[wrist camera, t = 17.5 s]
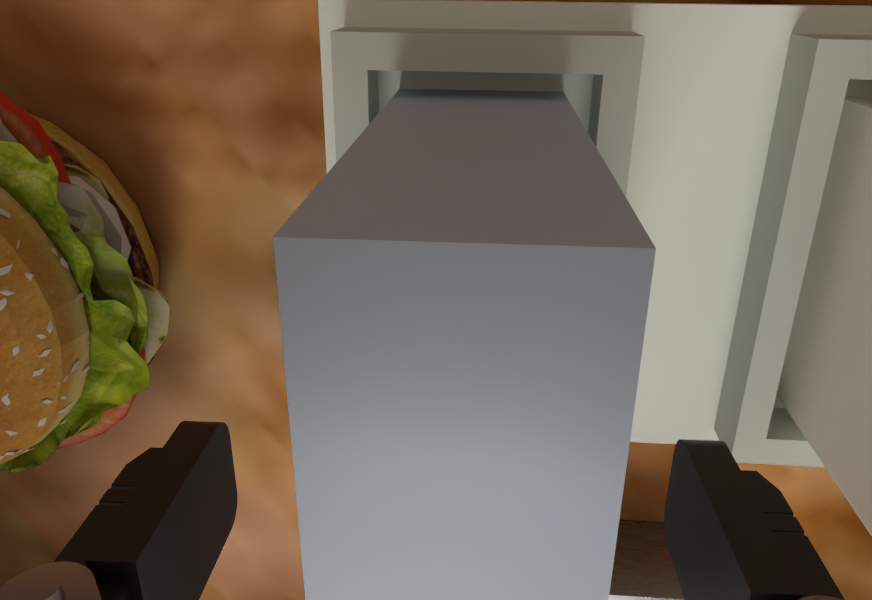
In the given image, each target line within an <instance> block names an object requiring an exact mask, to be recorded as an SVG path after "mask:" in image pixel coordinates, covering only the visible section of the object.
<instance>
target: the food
mask: <svg viewBox="0 0 872 600" xmlns="http://www.w3.org/2000/svg"><path fill="white" fill-rule="evenodd" d="M158 281H159V277H158V259H157V256H156V253H155V251H154V248H153V246H152V243H151V240H150V238H149V235H148V232H147V230H146V227H145V224H144V222H143V219H142V217H141V214H140V211H139V209H138V207H137V206H136V204H135V203H134V201H133V200H132V199H131V197H130V196H129V194H128V193H127V192H126V190H125V189H124V188H123V186H122V185H121V183H120V182H119V181H118V179H117V178H116V176H115V175H114V174H113V172H112V171H111V170H110V168H109V167H108V165H107V164H106V163H105V162H104V161H103V160H102V159H100V158H99V157H98V156H96V155H95V154H94V153H92V152H91V151H90V150H88V149H87V148H86V147H84V146H83V145H82V144H80V143H79V142H78V141H76V140H75V139H74V138H72V137H71V136H70V135H68V134H67V133H66V132H64V131H63V130H62V129H60V128H59V127H58V126H56V125H55V124H54V123H52V122H49V121H47V120H44V119H42V118H39V117H37V116H34V115H32V114H30V113H28V112H26V111H25V110H24V109H23V108H21V107H20V106H19V105H18V104H16V103H15V102H14V101H12V100H11V99H10V98H9V97H7V96H6V95H5V94H3V93H1V92H0V470H9V471H11V472H13V473H17V472H21V471H25V470H28V469H30V468H33V467H35V466H38V465H40V464H41V463H43V462H44V461H47V460H48V459H49V457H50V456H51V455H52V454H53V453H54V451H55V450H56V449H57V448H61V447H65V446H69V445H74V444H78V443H80V442H83V441H85V440H87V439H90V438H92V437H95V436H97V435H99V434H102V433H104V432H106V431H107V430H108V429H109V428H111V427H112V426H113V425H115V424H116V423H117V422H119V421H120V420H121V419H123V418H124V417H125V416H126V415H127V413H128V411H129V409H130V407H131V405H132V403H133V401H134V399H135V397H136V394H137V393H138V392H139V391H142V390H145V389H148V385H149V381H150V372H149V369H148V365H149V364H150V363H151V361H152V360H153V358H154V354H155V353H156V352H157V350H158V349H159V347H160V346H161V344H162V343H163V341H164V340H165V338H166V337H167V335H168V329H169V322H170V315H171V308H170V306H169V304H168V302H167V299H166V297H165V295H164V293H163V292H161V291H159V290H158Z"/></svg>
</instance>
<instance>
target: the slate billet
mask: <svg viewBox="0 0 872 600" xmlns="http://www.w3.org/2000/svg"><path fill="white" fill-rule="evenodd" d="M273 244H274V255H275V266H276V277H277V288H278V299H279V310H280V321H281V333H282V344H283V355H284V366H285V377H286V388H287V399H288V410H289V421H290V433H291V444H292V455H293V466H294V477H295V488H296V499H297V510H298V521H299V533H300V544H301V555H302V566H303V577H304V588H305V599H306V600H609V593H610V586H611V578H612V571H613V563H614V556H615V549H616V541H617V534H618V526H619V519H620V512H621V504H622V497H623V489H624V482H625V475H626V467H627V460H628V452H629V445H630V437H631V430H632V423H633V415H634V408H635V400H636V393H637V386H638V378H639V371H640V363H641V356H642V349H643V341H644V334H645V326H646V319H647V312H648V304H649V297H650V289H651V282H652V275H653V267H654V260H655V252H656V248H655V246H654V244H653V242H652V241H651V239H650V237H649V236H648V234H647V232H646V231H645V229H644V227H643V226H642V224H641V222H640V220H639V219H638V217H637V215H636V214H635V212H634V210H633V209H632V207H631V205H630V204H629V202H628V200H627V198H626V197H625V195H624V193H623V192H622V190H621V188H620V187H619V185H618V183H617V182H616V180H615V178H614V176H613V175H612V173H611V171H610V170H609V168H608V166H607V165H606V163H605V161H604V160H603V158H602V156H601V154H600V153H599V151H598V149H597V148H596V146H595V144H594V143H593V141H592V139H591V138H590V136H589V134H588V132H587V131H586V129H585V127H584V126H583V124H582V122H581V121H580V119H579V117H578V116H577V114H576V112H575V110H574V109H573V107H572V105H571V104H570V102H569V100H568V99H567V97H566V95H565V94H564V92H563V91H502V90H439V89H399V90H398V91H397V92H396V93H395V94H394V96H393V97H392V98H391V99H390V100H389V101H388V103H387V104H386V105H385V106H384V107H383V109H382V110H381V111H380V112H379V113H378V114H377V116H376V117H375V118H374V119H373V120H372V121H371V123H370V124H369V125H368V126H367V127H366V128H365V130H364V131H363V132H362V133H361V134H360V136H359V137H358V138H357V139H356V140H355V141H354V143H353V144H352V145H351V146H350V147H349V148H348V150H347V151H346V152H345V153H344V154H343V155H342V157H341V158H340V159H339V160H338V161H337V163H336V164H335V165H334V166H333V167H332V168H331V170H330V171H329V172H328V173H327V174H326V175H325V177H324V178H323V179H322V180H321V181H320V182H319V184H318V185H317V186H316V187H315V188H314V190H313V191H312V192H311V193H310V194H309V195H308V197H307V198H306V199H305V200H304V201H303V202H302V204H301V205H300V206H299V207H298V208H297V209H296V211H295V212H294V213H293V214H292V215H291V216H290V218H289V219H288V220H287V221H286V222H285V224H284V225H283V226H282V227H281V228H280V229H279V231H278V232H277V233H276V234H275V235H274V236H273Z"/></svg>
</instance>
